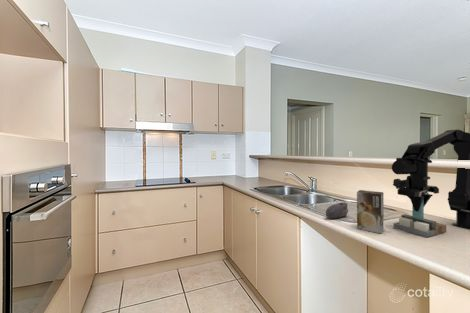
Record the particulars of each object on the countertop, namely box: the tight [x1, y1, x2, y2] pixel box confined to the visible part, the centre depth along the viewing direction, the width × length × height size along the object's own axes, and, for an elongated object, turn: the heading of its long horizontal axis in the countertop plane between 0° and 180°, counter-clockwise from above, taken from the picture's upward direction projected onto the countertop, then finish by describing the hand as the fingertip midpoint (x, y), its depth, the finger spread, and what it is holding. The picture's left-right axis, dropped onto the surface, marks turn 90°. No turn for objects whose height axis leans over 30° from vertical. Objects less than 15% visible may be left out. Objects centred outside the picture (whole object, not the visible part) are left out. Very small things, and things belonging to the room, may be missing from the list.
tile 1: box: [398, 216, 413, 228], centre depth 92 cm, size 4×4×2 cm
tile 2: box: [414, 221, 429, 232], centre depth 87 cm, size 4×4×2 cm
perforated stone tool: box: [325, 202, 349, 219], centre depth 109 cm, size 15×5×7 cm, turn 115°
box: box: [392, 221, 436, 239], centre depth 90 cm, size 6×12×2 cm, turn 24°
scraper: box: [400, 200, 437, 228], centre depth 91 cm, size 3×11×10 cm, turn 24°
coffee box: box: [356, 189, 385, 234], centre depth 92 cm, size 9×6×16 cm
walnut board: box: [413, 221, 447, 236], centre depth 93 cm, size 8×12×3 cm, turn 24°
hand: (418, 211), depth 91 cm, fingers closed on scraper, 2 cm apart
